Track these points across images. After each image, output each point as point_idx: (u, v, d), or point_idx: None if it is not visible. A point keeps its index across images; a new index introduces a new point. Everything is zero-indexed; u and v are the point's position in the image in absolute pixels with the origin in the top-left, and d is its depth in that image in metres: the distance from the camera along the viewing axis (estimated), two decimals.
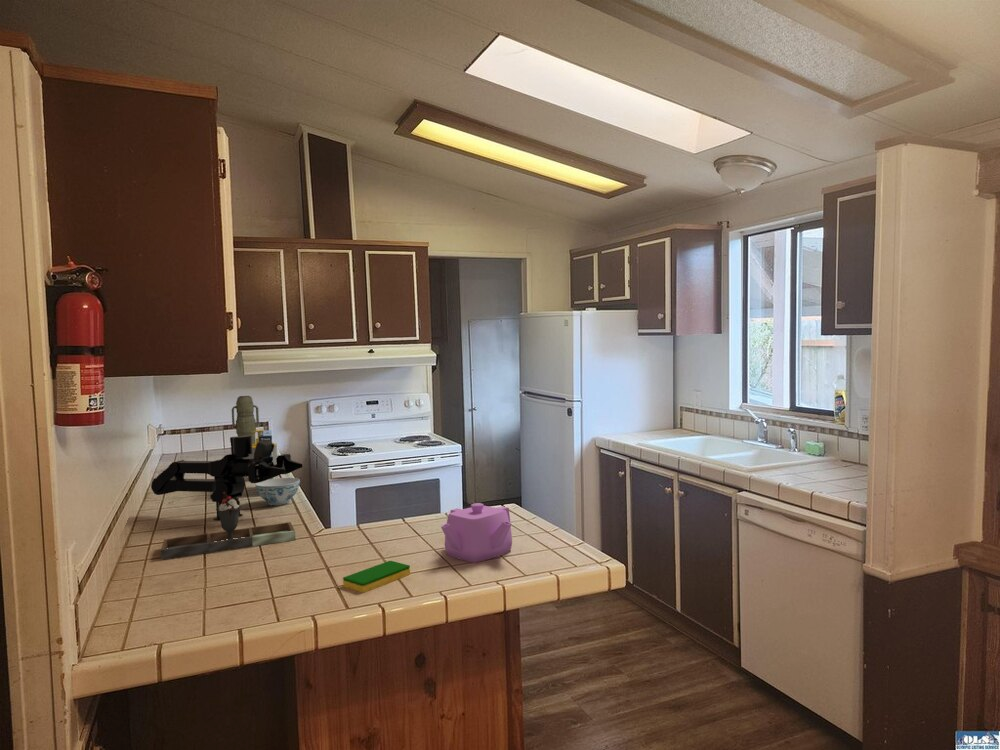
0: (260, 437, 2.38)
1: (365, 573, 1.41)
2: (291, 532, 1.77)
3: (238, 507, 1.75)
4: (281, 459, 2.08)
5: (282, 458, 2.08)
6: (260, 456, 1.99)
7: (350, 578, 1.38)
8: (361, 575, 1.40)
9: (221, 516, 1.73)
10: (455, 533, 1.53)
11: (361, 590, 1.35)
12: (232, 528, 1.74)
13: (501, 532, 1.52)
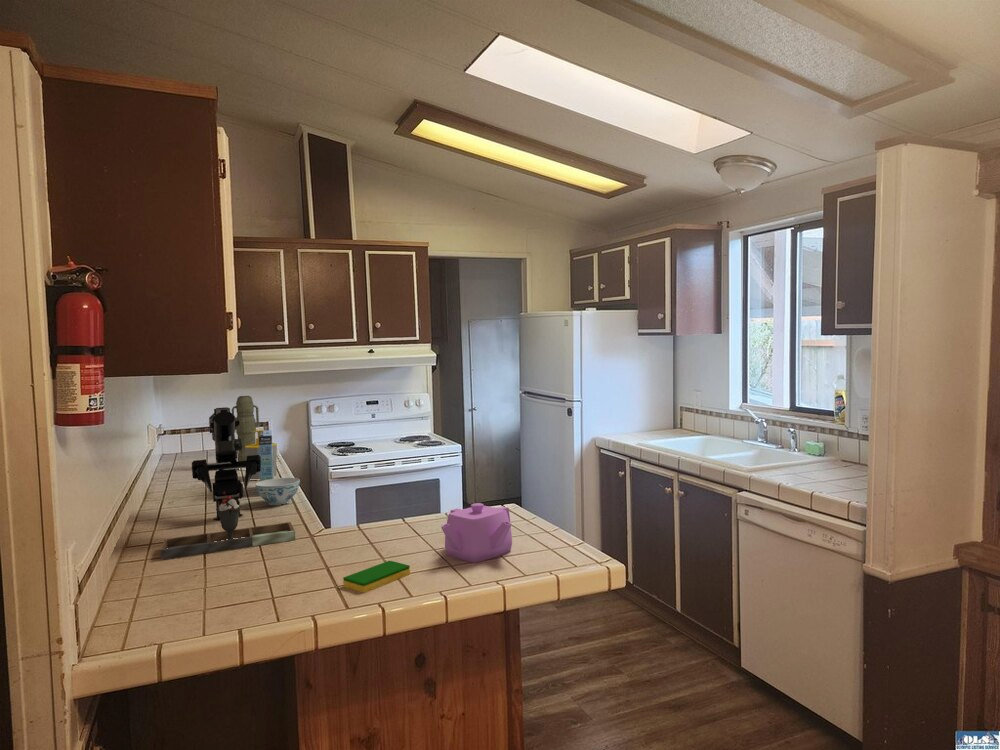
0: (260, 437, 2.38)
1: (365, 573, 1.41)
2: (291, 532, 1.77)
3: (238, 507, 1.75)
4: None
5: None
6: (217, 453, 1.86)
7: (350, 578, 1.38)
8: (361, 575, 1.40)
9: (221, 516, 1.73)
10: (455, 533, 1.53)
11: (362, 590, 1.35)
12: (232, 528, 1.74)
13: (501, 532, 1.52)
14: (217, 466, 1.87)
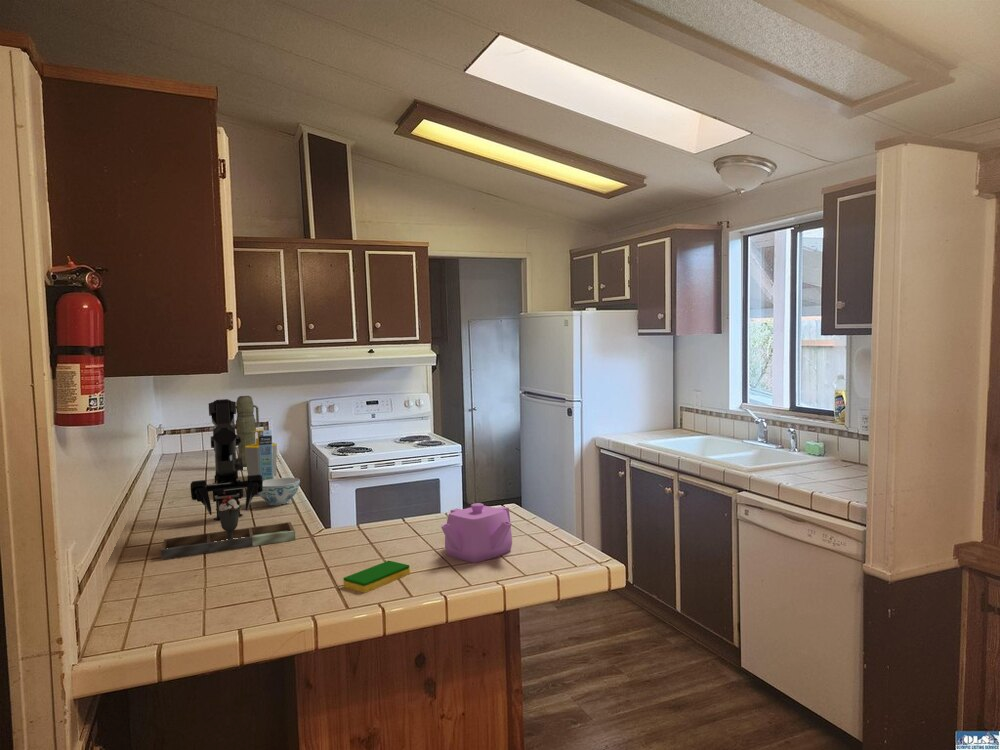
0: (260, 437, 2.38)
1: (365, 573, 1.41)
2: (291, 532, 1.77)
3: (238, 507, 1.75)
4: None
5: None
6: (217, 474, 1.78)
7: (350, 578, 1.38)
8: (361, 575, 1.40)
9: (221, 516, 1.73)
10: (455, 533, 1.53)
11: (362, 590, 1.35)
12: (232, 528, 1.74)
13: (501, 532, 1.52)
14: (217, 487, 1.79)
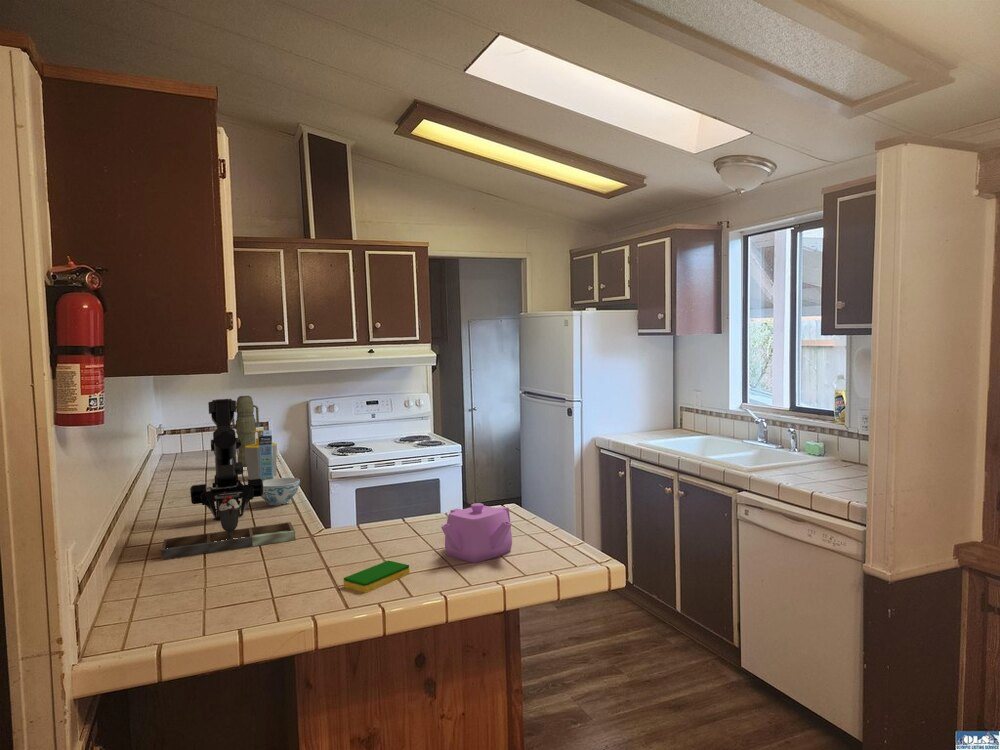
0: (260, 437, 2.38)
1: (365, 573, 1.41)
2: (291, 532, 1.77)
3: (238, 507, 1.75)
4: None
5: None
6: (217, 478, 1.77)
7: (351, 578, 1.38)
8: (362, 575, 1.40)
9: (221, 516, 1.73)
10: (455, 533, 1.53)
11: (363, 590, 1.35)
12: (232, 528, 1.74)
13: (501, 532, 1.52)
14: (222, 490, 1.79)
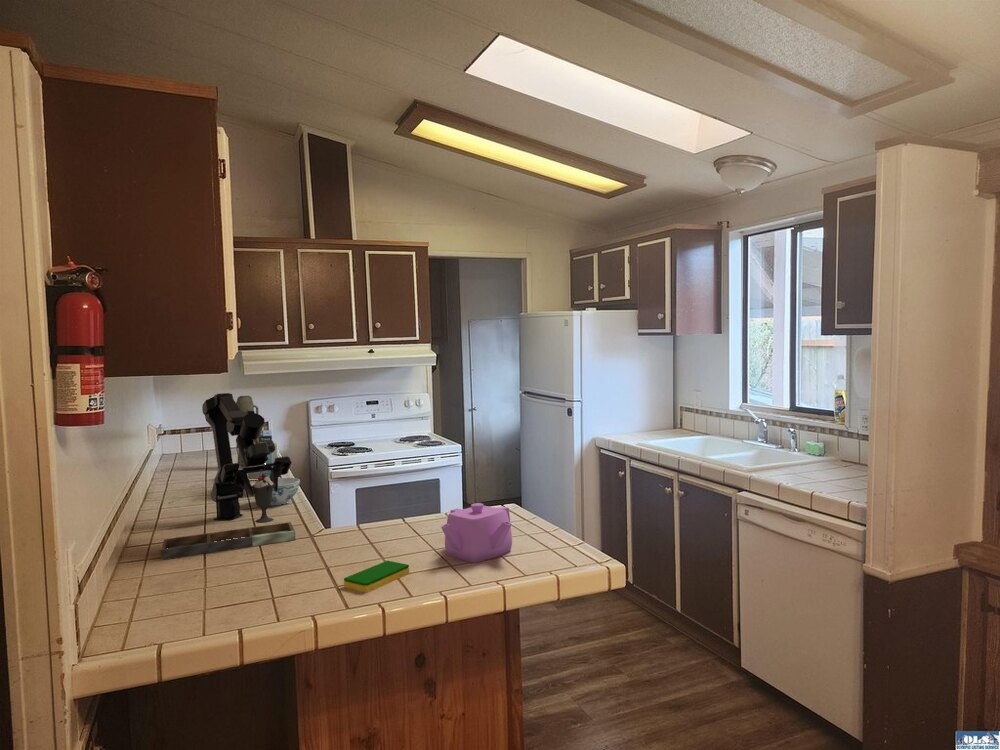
0: (260, 437, 2.38)
1: (365, 573, 1.41)
2: (291, 532, 1.77)
3: (273, 484, 1.79)
4: None
5: None
6: (249, 456, 1.79)
7: (351, 578, 1.38)
8: (362, 575, 1.40)
9: (258, 493, 1.77)
10: (455, 533, 1.53)
11: (364, 590, 1.35)
12: (268, 504, 1.78)
13: (501, 532, 1.52)
14: (252, 469, 1.81)
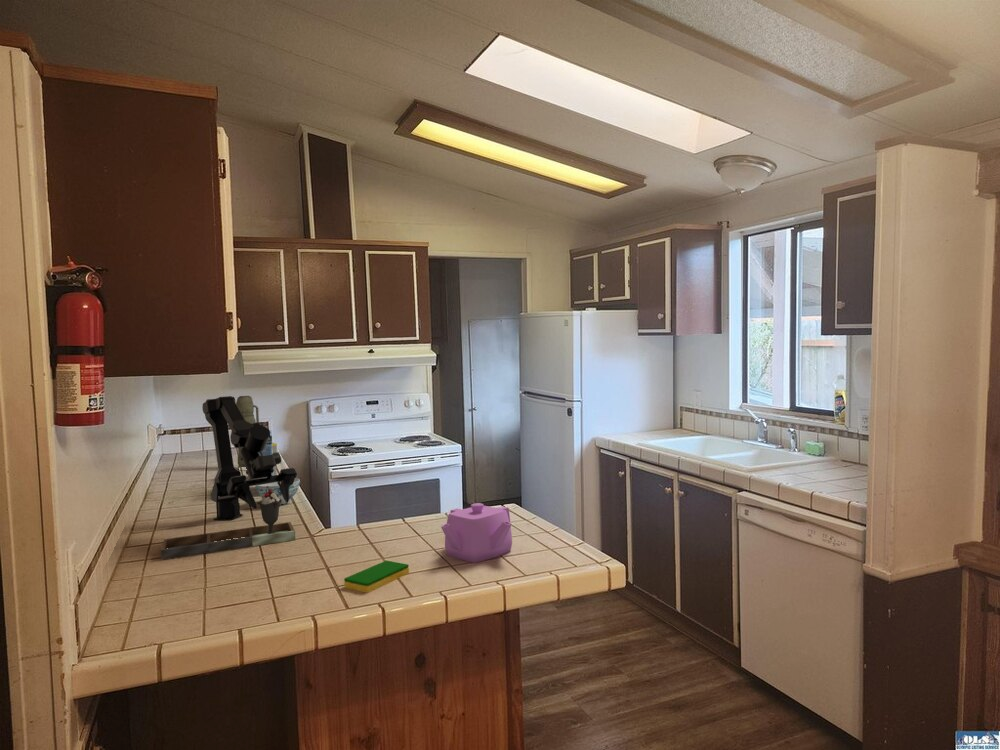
0: None
1: (366, 573, 1.41)
2: (291, 532, 1.77)
3: (280, 500, 1.80)
4: None
5: None
6: (255, 469, 1.80)
7: (352, 578, 1.38)
8: (362, 575, 1.40)
9: (265, 509, 1.77)
10: (455, 533, 1.53)
11: (365, 590, 1.35)
12: (275, 520, 1.79)
13: (501, 532, 1.52)
14: (254, 482, 1.81)
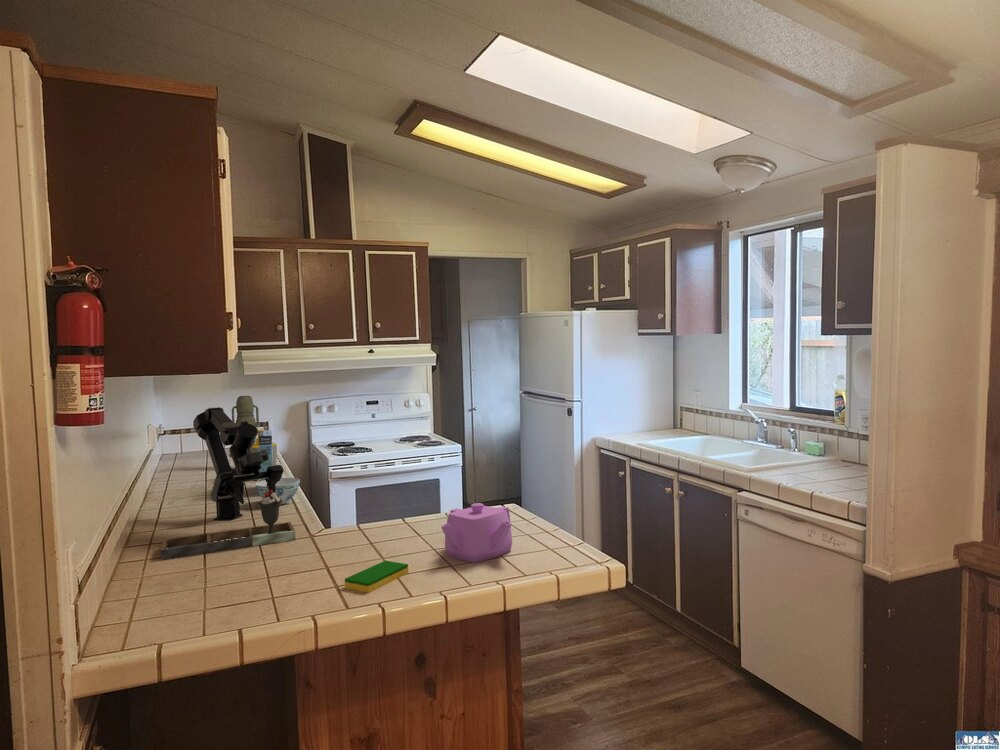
0: (260, 437, 2.38)
1: (366, 573, 1.41)
2: (291, 532, 1.77)
3: (280, 500, 1.80)
4: None
5: None
6: (243, 465, 1.87)
7: (352, 579, 1.38)
8: (362, 575, 1.40)
9: (265, 509, 1.78)
10: (455, 533, 1.53)
11: (366, 590, 1.35)
12: (275, 520, 1.79)
13: (501, 532, 1.52)
14: (242, 478, 1.88)
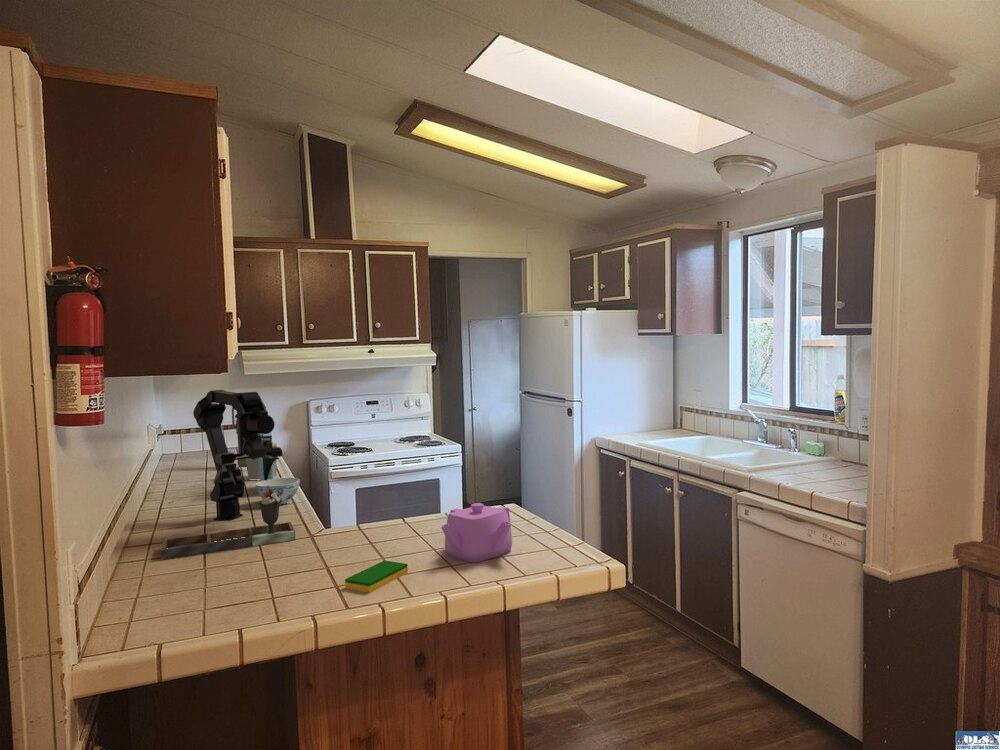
0: (260, 437, 2.38)
1: (366, 574, 1.41)
2: (291, 532, 1.77)
3: (280, 500, 1.80)
4: None
5: None
6: (246, 452, 1.91)
7: (353, 579, 1.38)
8: (363, 575, 1.40)
9: (265, 509, 1.78)
10: (455, 533, 1.53)
11: (367, 590, 1.35)
12: (275, 520, 1.79)
13: (501, 532, 1.52)
14: (241, 457, 1.94)
